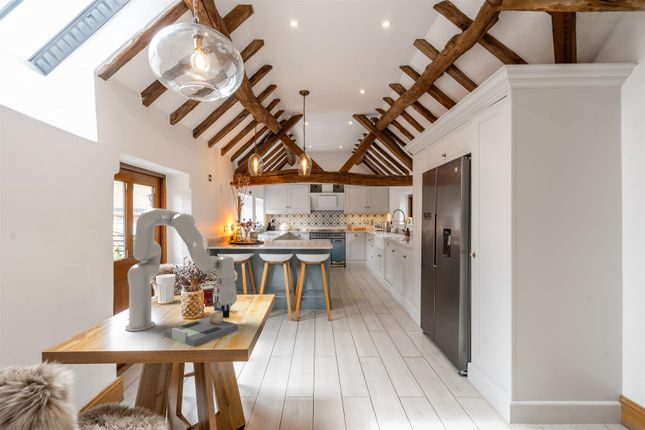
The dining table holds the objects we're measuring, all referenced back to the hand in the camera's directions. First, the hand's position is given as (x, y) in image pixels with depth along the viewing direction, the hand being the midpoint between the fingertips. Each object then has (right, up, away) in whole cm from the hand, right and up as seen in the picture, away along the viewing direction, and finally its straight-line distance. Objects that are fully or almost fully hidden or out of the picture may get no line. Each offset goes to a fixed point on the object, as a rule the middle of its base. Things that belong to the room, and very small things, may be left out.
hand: (226, 317), depth 159 cm
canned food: (-24, -5, +37) cm, 45 cm away
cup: (-52, -5, +43) cm, 68 cm away
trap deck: (-8, -3, -12) cm, 14 cm away
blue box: (-11, -4, +24) cm, 27 cm away
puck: (-3, -1, -5) cm, 6 cm away
